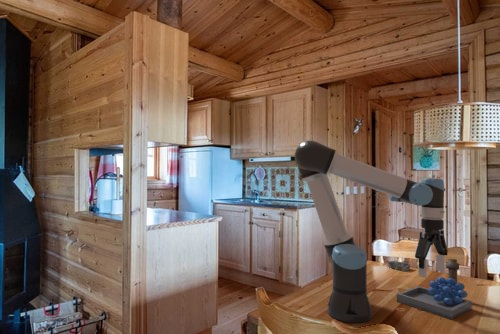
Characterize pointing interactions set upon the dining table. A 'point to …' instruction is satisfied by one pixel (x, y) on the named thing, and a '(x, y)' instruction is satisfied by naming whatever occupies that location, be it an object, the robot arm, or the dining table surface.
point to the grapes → (447, 290)
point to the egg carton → (399, 265)
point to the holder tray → (432, 303)
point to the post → (452, 268)
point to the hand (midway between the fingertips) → (431, 274)
